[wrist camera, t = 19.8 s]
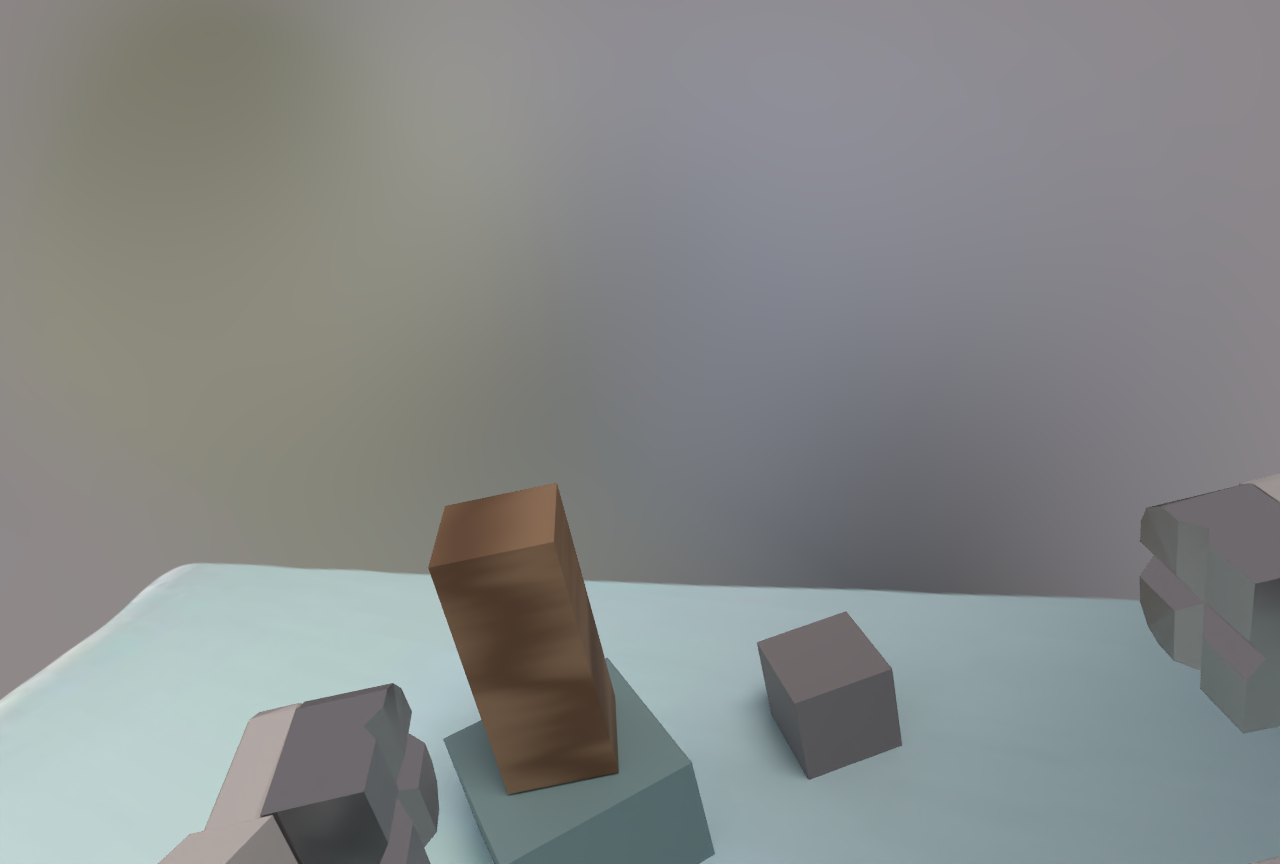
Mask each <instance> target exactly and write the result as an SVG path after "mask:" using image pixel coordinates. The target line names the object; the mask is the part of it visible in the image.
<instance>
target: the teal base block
mask: <svg viewBox="0 0 1280 864" xmlns="http://www.w3.org/2000/svg"><path fill="white" fill-rule="evenodd" d="M605 661H606V665H607V668H608V672H609V676H610V679H611V683H612V687H613V690H614V694H615V701H616V722H617V743H618V764H619V772H618V773H613V774H608V775H603V776H598V777H593V778H588V779H583V780H578V781H573V782H568V783H563V784H558V785H552V786H547V787H542V788H537V789H532V790H527V791H522V792H517V793H512V794H508V793H507V790H506V788H505V785H504V782H503V779H502V776H501V773H500V770H499V768H498V765H497V762H496V759H495V756H494V753H493V751H492V748H491V745H490V742H489V739H488V736H487V733H486V731H485V728H484V725H483V722H482V720H481V721H479V722H477V723H475V724H473V725H471V726H469V727H467V728H465V729H463V730H461V731H459V732H457V733H454V734H452V735H450V736H448V737H446V738H444V739H443V740H444V742H445V745H446V747H447V750H448V752H449V755H450V757H451V760H452V762H453V765H454V767H455V770H456V772H457V775H458V777H459V780H460V782H461V785H462V787H463V790H464V792H465V795H466V797H467V800H468V802H469V805H470V807H471V810H472V812H473V815H474V817H475V820H476V822H477V824H478V827H479V829H480V831H481V833H482V836H483V838H484V840H485V842H486V845H487V847H488V849H489V851H490V854H491V856H492V858H493V860H494V863H495V864H699V863H701V862H702V861H704V860H706V859H707V858H709V857H711V856H712V855H714V854H715V852H714V849H713V845H712V841H711V837H710V833H709V829H708V825H707V821H706V817H705V813H704V809H703V805H702V801H701V797H700V793H699V789H698V786H697V782H696V778H695V774H694V770H693V766H692V762H691V761H690V760H689V759H688V757H687V756H686V755H685V754H684V752H683V751H682V750H681V749H680V747H679V746H678V745H677V744H676V742H675V741H674V740H673V739H672V737H671V736H670V735H669V734H668V732H667V731H666V730H665V729H664V728H663V726H662V725H661V724H660V723H659V721H658V720H657V719H656V718H655V716H654V715H653V714H652V713H651V711H650V710H649V709H648V708H647V706H646V705H645V704H644V703H643V701H642V700H641V699H640V698H639V696H638V695H637V694H636V693H635V691H634V690H633V689H632V688H631V686H630V685H629V684H628V683H627V681H626V680H625V679H624V678H623V676H622V675H621V674H620V673H619V671H618V670H617V669H616V668H615V666H614V665H613V664H612V663H611V661H610V660H609V659H608V658H606V659H605Z"/></svg>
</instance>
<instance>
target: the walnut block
mask: <svg viewBox="0 0 1280 864" xmlns="http://www.w3.org/2000/svg"><path fill="white" fill-rule="evenodd" d="M429 571H430V574H431V577H432V580H433V582H434V585H435V588H436V591H437V594H438V597H439V599H440V602H441V605H442V608H443V611H444V614H445V617H446V619H447V622H448V625H449V628H450V631H451V634H452V637H453V639H454V642H455V645H456V648H457V651H458V654H459V656H460V659H461V662H462V665H463V668H464V671H465V674H466V676H467V679H468V682H469V685H470V688H471V691H472V694H473V696H474V699H475V702H476V705H477V708H478V711H479V713H480V716H481V719H482V722H483V725H484V728H485V731H486V733H487V736H488V739H489V742H490V745H491V748H492V751H493V753H494V756H495V759H496V762H497V765H498V768H499V770H500V773H501V776H502V779H503V782H504V785H505V788H506V790H507V793H508V794H512V793H517V792H522V791H527V790H532V789H537V788H542V787H547V786H552V785H558V784H563V783H568V782H573V781H578V780H583V779H588V778H593V777H598V776H603V775H608V774H613V773H618V772H619V764H618V743H617V722H616V701H615V694H614V690H613V687H612V683H611V679H610V676H609V672H608V668H607V665H606V661H605V657H604V654H603V650H602V646H601V643H600V639H599V635H598V632H597V628H596V624H595V621H594V617H593V613H592V610H591V606H590V602H589V599H588V595H587V591H586V588H585V584H584V580H583V577H582V574H581V569H580V566H579V562H578V558H577V555H576V551H575V548H574V544H573V540H572V537H571V533H570V529H569V525H568V522H567V518H566V515H565V511H564V507H563V504H562V500H561V496H560V492H559V489H558V485H557V483H554V484H549V485H544V486H539V487H534V488H530V489H525V490H520V491H515V492H511V493H506V494H501V495H496V496H491V497H487V498H482V499H477V500H472V501H467V502H463V503H458V504H453V505H449V506H445V509H444V512H443V516H442V520H441V523H440V527H439V531H438V534H437V538H436V542H435V545H434V549H433V553H432V557H431V560H430V564H429Z"/></svg>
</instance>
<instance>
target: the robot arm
mask: <svg viewBox="0 0 1280 864" xmlns="http://www.w3.org/2000/svg"><path fill="white" fill-rule="evenodd" d="M1140 542H1141V543H1142V544H1143V545H1144V546H1145V547H1146V548H1147V549H1148V550H1149V551H1150V552H1151V553H1152V554H1153V555H1154V556H1153V558H1152V559H1151V560H1150V562H1149V563H1148V565H1147V566H1146V568H1145V569H1144V571H1143V572H1142V574H1141V575H1140V603H1141V606H1142V609H1143V612H1144V615H1145V618H1146V621H1147V624H1148V627H1149V629H1150V630H1151V632H1152V634H1153V635H1154V637H1155V639H1156V640H1157V642H1158V644H1159V645H1160V646H1161V647H1162V648H1163V649H1164V650H1165V651H1166V653H1167V654H1168V655H1169V656H1170V657H1171V658H1172V659H1173V660H1174V661H1177V662H1179V663H1182V664H1185V665H1187V666H1190V667H1192V668H1195V669H1198V670H1200V671H1201V683H1200V689H1201V690H1202V691H1203V692H1204V693H1205V694H1206V695H1207V696H1208V697H1209V698H1210V699H1211V700H1212V701H1213V703H1214V704H1215V705H1216V706H1217V707H1218V708H1219V709H1220V710H1221V711H1222V712H1223V713H1224V714H1225V715H1226V716H1227V717H1228V718H1229V719H1230V720H1231V721H1232V722H1233V723H1234V724H1235V726H1236V727H1237V728H1238V729H1239V730H1240V731H1241V732H1242V733H1248V732H1253V731H1258V730H1262V729H1267V728H1272V727H1277V726H1280V473H1279V474H1275V475H1271V476H1268V477H1264V478H1260V479H1256V480H1252V481H1249V482H1245V483H1241V484H1239V485H1238V486H1235V487H1231V488H1227V489H1223V490H1218V491H1215V492H1210V493H1206V494H1202V495H1198V496H1194V497H1190V498H1185V499H1181V500H1177V501H1173V502H1169V503H1164V504H1161V505H1156V506H1152V507H1148V508H1146V510H1145V512H1144V515H1143V517H1142V520H1141V533H1140ZM411 714H412V711H411V709H410V707H409V704H408V702H407V700H406V698H405V696H404V693H403V691H402V689H401V688H400V687H398V686H397V685H395V684H394V683H391V684H387V685H382V686H377V687H372V688H368V689H363V690H358V691H353V692H349V693H344V694H339V695H335V696H330V697H325V698H320V699H316V700H311V701H306V702H304V703H303V704H300V703H298V704H293V705H289V706H285V707H280V708H276V709H272V710H267V711H263V712H259V713H258V714H256V715H255V716H254V717H252V718H251V719H250V720H249V722H248V724H247V726H246V729H245V731H244V734H243V736H242V739H241V741H240V744H239V746H238V748H237V751H236V753H235V756H234V758H233V761H232V763H231V766H230V768H229V771H228V773H227V776H226V778H225V780H224V783H223V785H222V788H221V790H220V793H219V795H218V798H217V800H216V803H215V805H214V807H213V810H212V812H211V815H210V817H209V820H208V822H207V825H206V827H205V830H204V831H201V832H197V833H193V834H189V835H188V836H187V837H186V838H185V839H184V840H183V841H182V842H181V843H180V844H179V845H178V846H177V847H175V848H174V849H173V850H172V851H171V852H170V853H169V854H168V855H167V856H166V857H165V858H164V859H163V860H161V861H160V862H159V863H158V864H431V863H430V861H429V859H428V856H427V854H426V852H425V849H424V847H425V846H426V845H427V843H428V842H429V841H430V840H431V838H432V837H433V836H434V835H435V833H436V832H437V824H438V814H439V802H438V789H437V780H436V776H435V772H434V768H433V764H432V760H431V758H430V755H429V752H428V750H427V747H426V745H425V743H424V742H422V741H420V740H419V739H417V738H416V737H414V736H412V735H411V734H409V733H408V732H409V726H410V720H411ZM1250 864H1280V857H1276V858H1272V859H1267V860H1263V861H1259V862H1254V863H1250Z"/></svg>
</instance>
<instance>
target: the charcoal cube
mask: <svg viewBox="0 0 1280 864" xmlns="http://www.w3.org/2000/svg"><path fill="white" fill-rule="evenodd" d="M757 645H758V650H759V655H760V660H761V665H762V670H763V675H764V680H765V685H766V690H767V694H768V699H769V704H770V709H771V714H772V716H773V718H774V720H775V721H776V723H777V725H778V726H779V728H780V730H781V732H782V733H783V735H784V737H785V739H786V740H787V742H788V744H789V746H790V747H791V749H792V751H793V753H794V754H795V756H796V758H797V760H798V761H799V763H800V765H801V767H802V768H803V770H804V772H805V774H806V775H807V777H808V779H809V780H810V779H812V778H815V777H818V776H820V775H823V774H826V773H829V772H831V771H834V770H837V769H839V768H842V767H845V766H847V765H850V764H853V763H856V762H858V761H861V760H864V759H866V758H869V757H872V756H874V755H877V754H880V753H883V752H885V751H888V750H891V749H893V748H896V747H899V746H901V745H902V742H901V734H900V727H899V719H898V711H897V703H896V695H895V688H894V680H893V672H892V668H891V667H890V666H889V664H888V663H887V662H886V661H885V659H884V658H883V657H882V656H881V654H880V653H879V652H878V651H877V649H876V648H875V647H874V646H873V644H872V643H871V642H870V641H869V639H868V638H867V637H866V636H865V634H864V633H863V632H862V631H861V629H860V628H859V627H858V626H857V624H856V623H855V622H854V621H853V619H852V618H851V617H850V616H849V614H848V613H847V612H843V613H840V614H837V615H834V616H832V617H829V618H826V619H823V620H820V621H817V622H814V623H811V624H809V625H806V626H803V627H800V628H797V629H794V630H791V631H788V632H786V633H783V634H780V635H777V636H774V637H771V638H768V639H765V640H763V641H760V642H757Z"/></svg>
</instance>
